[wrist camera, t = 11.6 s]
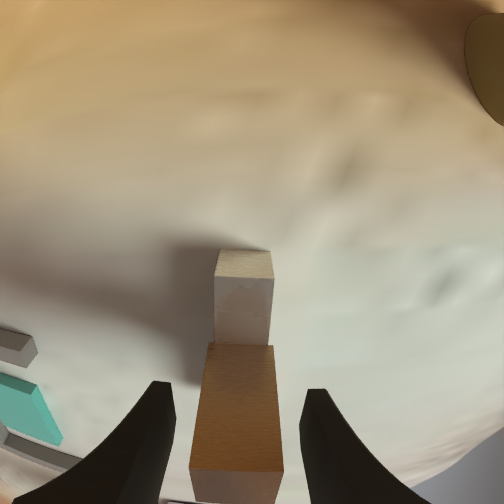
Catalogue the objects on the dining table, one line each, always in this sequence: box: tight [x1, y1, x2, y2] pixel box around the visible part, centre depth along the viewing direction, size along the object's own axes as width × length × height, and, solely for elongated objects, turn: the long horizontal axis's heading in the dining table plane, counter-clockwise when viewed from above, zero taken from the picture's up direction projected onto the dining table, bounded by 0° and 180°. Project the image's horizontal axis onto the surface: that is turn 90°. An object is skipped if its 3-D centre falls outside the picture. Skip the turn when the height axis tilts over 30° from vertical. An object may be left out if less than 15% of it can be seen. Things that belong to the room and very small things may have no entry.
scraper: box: [189, 249, 284, 504], centre depth 11 cm, size 8×2×8 cm, turn 177°
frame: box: [0, 329, 82, 473], centre depth 17 cm, size 14×10×2 cm
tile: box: [0, 373, 63, 446], centre depth 17 cm, size 6×6×2 cm
